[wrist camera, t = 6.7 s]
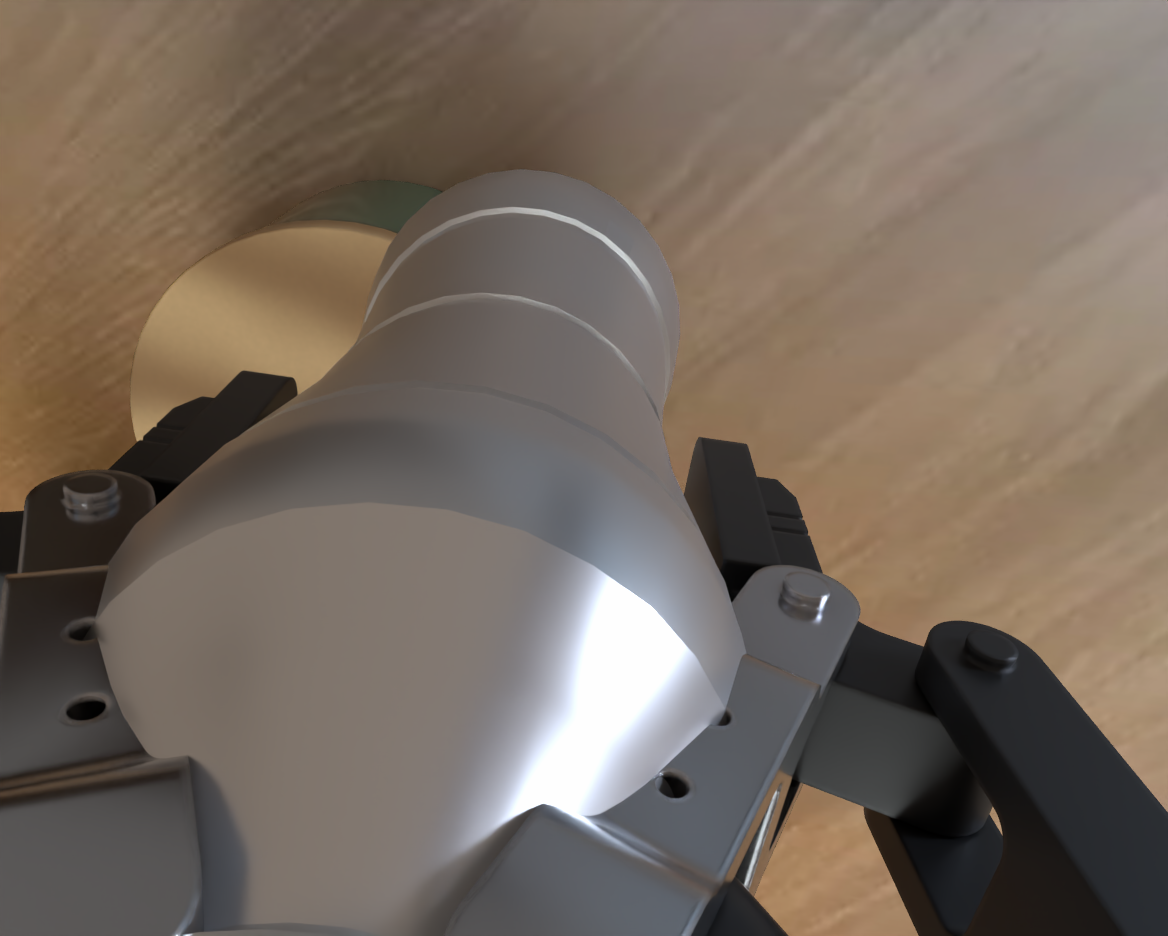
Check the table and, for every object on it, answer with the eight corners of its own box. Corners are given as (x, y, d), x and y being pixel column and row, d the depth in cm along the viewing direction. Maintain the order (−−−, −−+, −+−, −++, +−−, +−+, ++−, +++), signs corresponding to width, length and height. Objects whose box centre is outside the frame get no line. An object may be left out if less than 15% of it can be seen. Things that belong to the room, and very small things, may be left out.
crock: (226, 144, 36) (112, 192, 28) (587, 202, 36) (577, 265, 28) (234, 465, 42) (142, 580, 34) (541, 510, 42) (522, 634, 34)
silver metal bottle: (359, 372, 23) (-511, 1665, 5) (450, 96, 20) (-779, 891, 2) (604, 467, 24) (567, 1838, 6) (724, 217, 21) (1294, 1428, 3)
